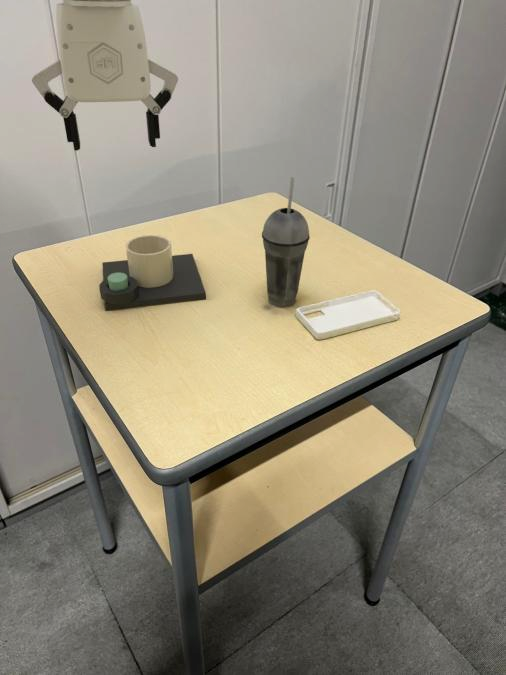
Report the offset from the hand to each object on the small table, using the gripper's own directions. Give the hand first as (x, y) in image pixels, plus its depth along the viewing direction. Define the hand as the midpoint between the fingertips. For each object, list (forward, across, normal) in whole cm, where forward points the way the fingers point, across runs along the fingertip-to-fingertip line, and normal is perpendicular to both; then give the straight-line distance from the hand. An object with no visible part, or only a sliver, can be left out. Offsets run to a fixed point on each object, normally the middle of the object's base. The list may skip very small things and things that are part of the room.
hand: (115, 145), depth 68 cm
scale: (+25, +3, +6) cm, 26 cm away
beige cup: (+24, +3, +6) cm, 25 cm away
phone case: (+25, +32, -11) cm, 42 cm away
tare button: (+22, -2, +2) cm, 22 cm away
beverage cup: (+25, +23, -4) cm, 34 cm away
